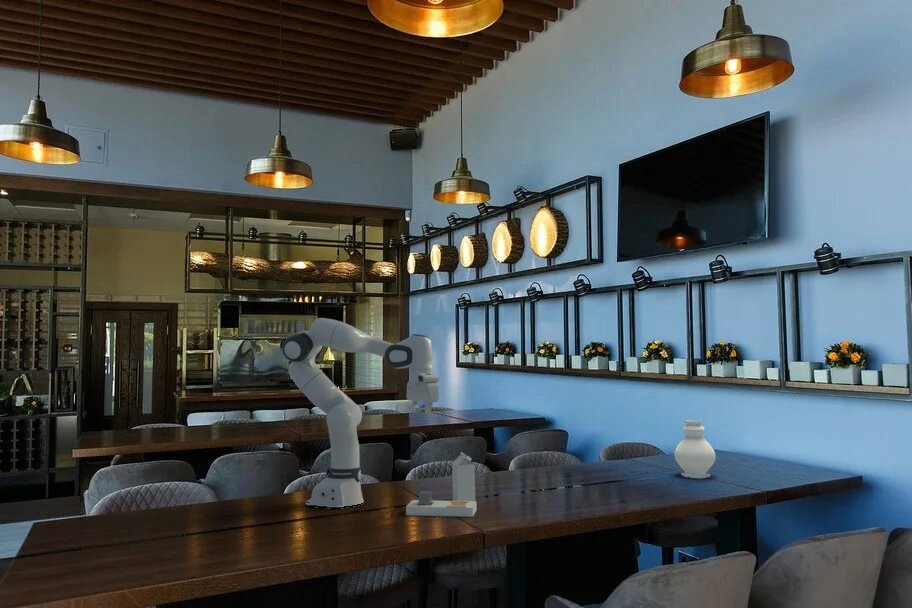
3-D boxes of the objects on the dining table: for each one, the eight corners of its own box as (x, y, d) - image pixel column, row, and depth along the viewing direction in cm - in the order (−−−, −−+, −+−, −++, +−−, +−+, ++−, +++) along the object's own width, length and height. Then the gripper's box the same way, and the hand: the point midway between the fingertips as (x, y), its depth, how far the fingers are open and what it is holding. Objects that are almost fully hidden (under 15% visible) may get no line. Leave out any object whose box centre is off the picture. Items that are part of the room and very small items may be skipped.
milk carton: (457, 505, 253) (456, 455, 254) (452, 501, 259) (452, 452, 261) (475, 504, 254) (474, 454, 256) (470, 500, 261) (469, 451, 263)
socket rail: (406, 517, 235) (406, 505, 235) (412, 511, 245) (412, 499, 245) (472, 519, 231) (472, 507, 232) (476, 512, 241) (476, 500, 241)
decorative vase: (667, 473, 309) (665, 419, 311) (699, 471, 314) (697, 418, 316) (691, 480, 292) (689, 423, 294) (725, 477, 297) (722, 421, 299)
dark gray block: (418, 513, 237) (418, 493, 238) (421, 510, 241) (421, 491, 242) (429, 513, 237) (429, 493, 237) (432, 510, 241) (431, 491, 241)
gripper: (402, 376, 258) (402, 412, 257) (426, 377, 240) (427, 416, 239) (416, 376, 261) (417, 411, 260) (441, 377, 243) (442, 414, 242)
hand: (422, 413), depth 249 cm, fingers open, 8 cm apart
